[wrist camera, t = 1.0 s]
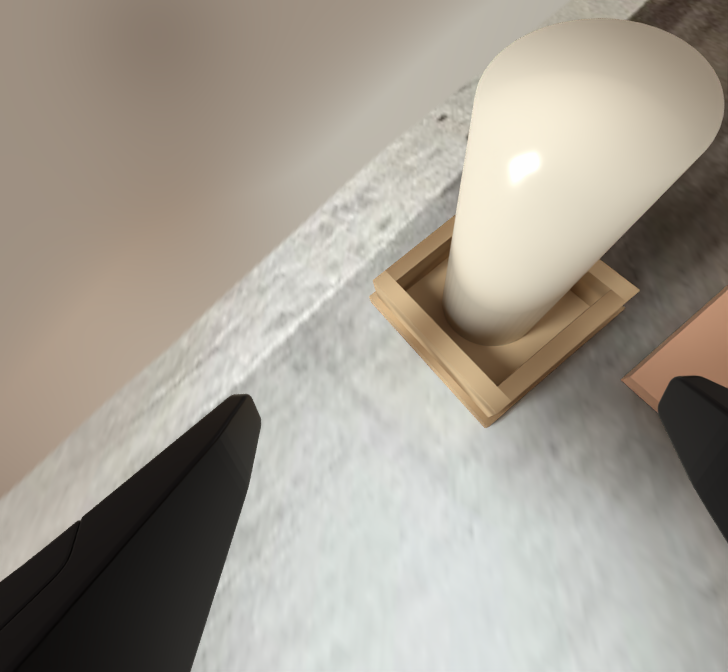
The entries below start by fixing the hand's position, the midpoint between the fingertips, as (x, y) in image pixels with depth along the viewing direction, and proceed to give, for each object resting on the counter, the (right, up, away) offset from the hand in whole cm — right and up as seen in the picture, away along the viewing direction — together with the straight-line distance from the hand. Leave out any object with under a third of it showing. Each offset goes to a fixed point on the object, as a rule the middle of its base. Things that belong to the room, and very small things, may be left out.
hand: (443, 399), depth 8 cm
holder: (+7, +3, +16) cm, 17 cm away
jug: (+6, +5, +15) cm, 17 cm away
